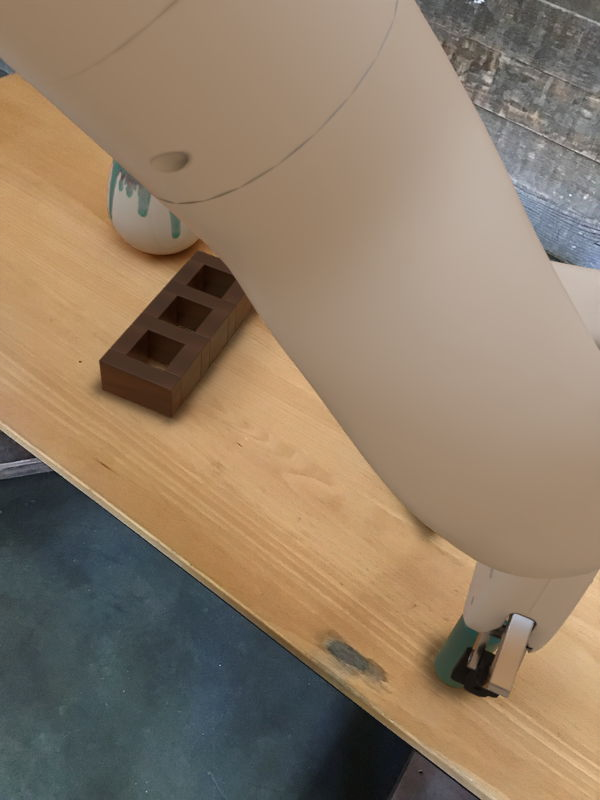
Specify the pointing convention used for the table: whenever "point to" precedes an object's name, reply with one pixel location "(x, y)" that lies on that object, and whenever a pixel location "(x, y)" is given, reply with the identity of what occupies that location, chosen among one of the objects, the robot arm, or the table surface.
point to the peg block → (176, 336)
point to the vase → (143, 216)
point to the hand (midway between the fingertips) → (490, 621)
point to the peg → (458, 650)
